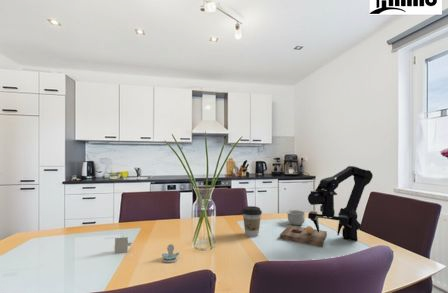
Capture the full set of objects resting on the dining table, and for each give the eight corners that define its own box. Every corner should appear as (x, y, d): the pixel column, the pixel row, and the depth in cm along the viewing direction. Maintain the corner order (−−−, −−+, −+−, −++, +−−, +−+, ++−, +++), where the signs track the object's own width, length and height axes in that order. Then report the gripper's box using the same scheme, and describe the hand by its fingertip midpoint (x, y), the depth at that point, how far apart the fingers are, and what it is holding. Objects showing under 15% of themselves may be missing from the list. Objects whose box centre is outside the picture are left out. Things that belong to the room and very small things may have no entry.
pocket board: (326, 235, 125) (326, 231, 125) (322, 247, 110) (322, 242, 110) (288, 229, 136) (288, 225, 136) (280, 238, 121) (280, 234, 121)
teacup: (307, 227, 141) (307, 214, 141) (289, 226, 141) (289, 214, 141) (300, 220, 155) (300, 208, 155) (284, 220, 155) (284, 208, 155)
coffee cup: (240, 237, 123) (240, 209, 123) (243, 230, 134) (243, 205, 134) (261, 239, 120) (261, 211, 121) (262, 232, 131) (262, 206, 132)
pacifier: (177, 263, 94) (179, 256, 100) (178, 248, 94) (179, 242, 100) (160, 264, 93) (162, 257, 99) (160, 249, 93) (163, 242, 99)
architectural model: (116, 251, 106) (117, 235, 106) (132, 250, 107) (132, 234, 107) (114, 254, 103) (114, 238, 103) (130, 253, 104) (130, 237, 104)
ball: (314, 233, 122) (314, 225, 122) (312, 235, 119) (312, 227, 119) (306, 232, 124) (306, 224, 124) (304, 234, 121) (304, 226, 121)
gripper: (348, 202, 120) (348, 232, 119) (311, 199, 129) (311, 226, 128) (347, 206, 110) (348, 239, 109) (307, 202, 119) (308, 232, 119)
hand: (328, 233), depth 117 cm, fingers open, 9 cm apart
